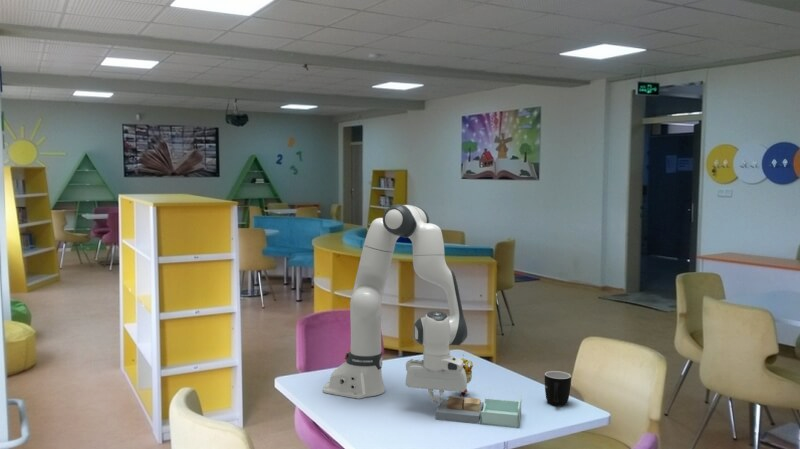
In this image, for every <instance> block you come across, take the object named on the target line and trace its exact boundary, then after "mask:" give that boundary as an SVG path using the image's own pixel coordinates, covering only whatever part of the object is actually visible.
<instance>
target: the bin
mask: <svg viewBox="0 0 800 449" xmlns="http://www.w3.org/2000/svg"><path fill="white" fill-rule="evenodd" d="M521 416H522V395H519V399H518V401H517V400H510V399H509V400H506V399H497V398H485V399H484V408H483V411H481V419H480V422H479V424H480V425H487V426H497V427H508V428H514V429H515V428H516V429H518V428H519V427H520V422H521Z"/></svg>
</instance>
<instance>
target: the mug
mask: <svg viewBox="0 0 800 449" xmlns="http://www.w3.org/2000/svg"><path fill="white" fill-rule="evenodd" d="M571 386H572V376H571V374H570V373H568V372H565V371H559V370H558V371H557V370H550V371H546V372H545V373H544V393H545V398H546V403H547V404H549V405H552V406H554V407H564V406H566V405H567V404H568V402H569V399H570V394H571V393H570V391H571Z"/></svg>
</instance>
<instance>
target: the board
mask: <svg viewBox="0 0 800 449" xmlns="http://www.w3.org/2000/svg"><path fill="white" fill-rule="evenodd" d="M447 400H448V398H441V401H440V403H439V405H438V406H437V409H436V410H435V420H438V421H440V420H441V421H447V422H449V421H450V422H457V423H458V422H459V423H468V424H477V425H479V424H480V421H481V411H483V408H484V405H485V402H482V401H481V407H480V410H479V412H478V411H467V410H464V407H463V409H462V410H457V409H447Z"/></svg>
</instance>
